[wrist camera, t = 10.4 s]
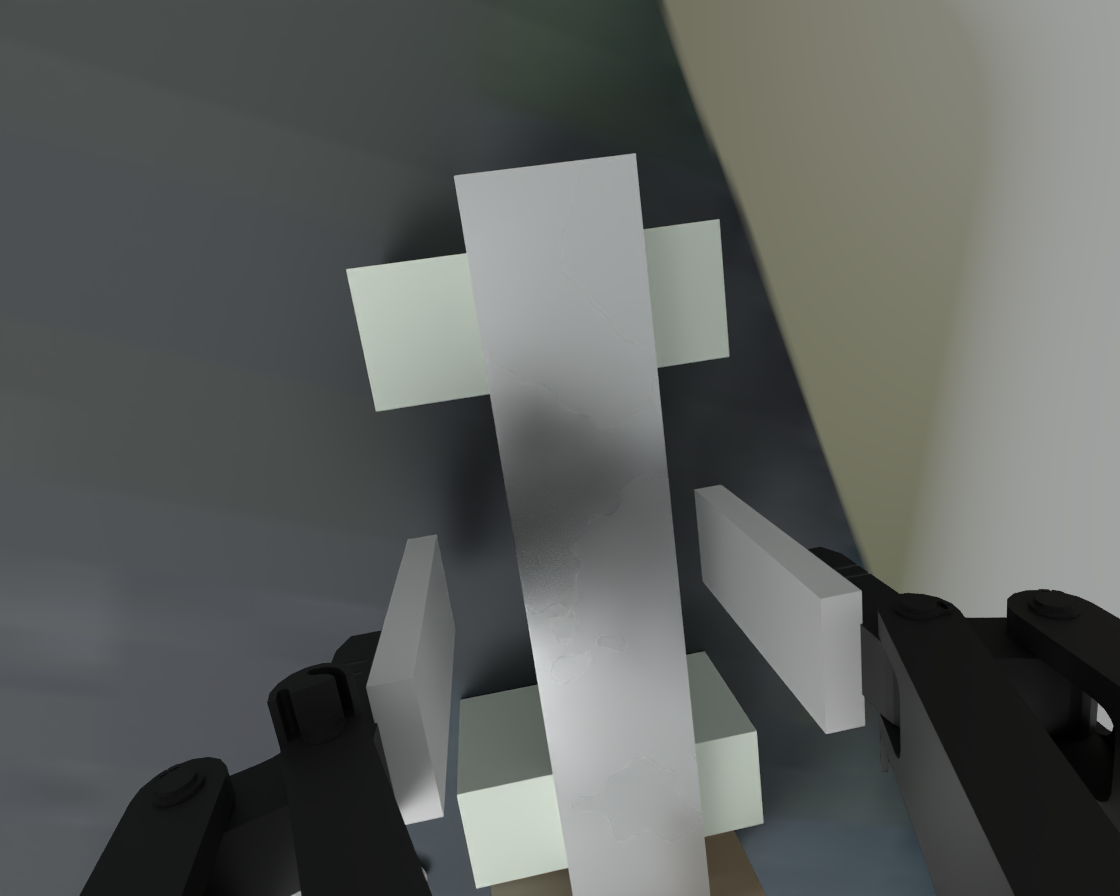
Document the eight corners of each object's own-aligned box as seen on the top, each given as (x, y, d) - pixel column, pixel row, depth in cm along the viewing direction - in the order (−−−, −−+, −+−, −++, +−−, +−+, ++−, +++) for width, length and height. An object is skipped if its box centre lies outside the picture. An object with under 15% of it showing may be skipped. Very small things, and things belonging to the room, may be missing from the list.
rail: (679, 872, 18) (719, 984, 15) (573, 897, 17) (592, 1015, 15) (601, 184, 13) (635, 153, 11) (458, 202, 13) (453, 175, 10)
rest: (711, 729, 22) (763, 823, 18) (476, 779, 21) (476, 888, 17) (666, 236, 18) (719, 219, 14) (375, 276, 17) (346, 269, 13)
